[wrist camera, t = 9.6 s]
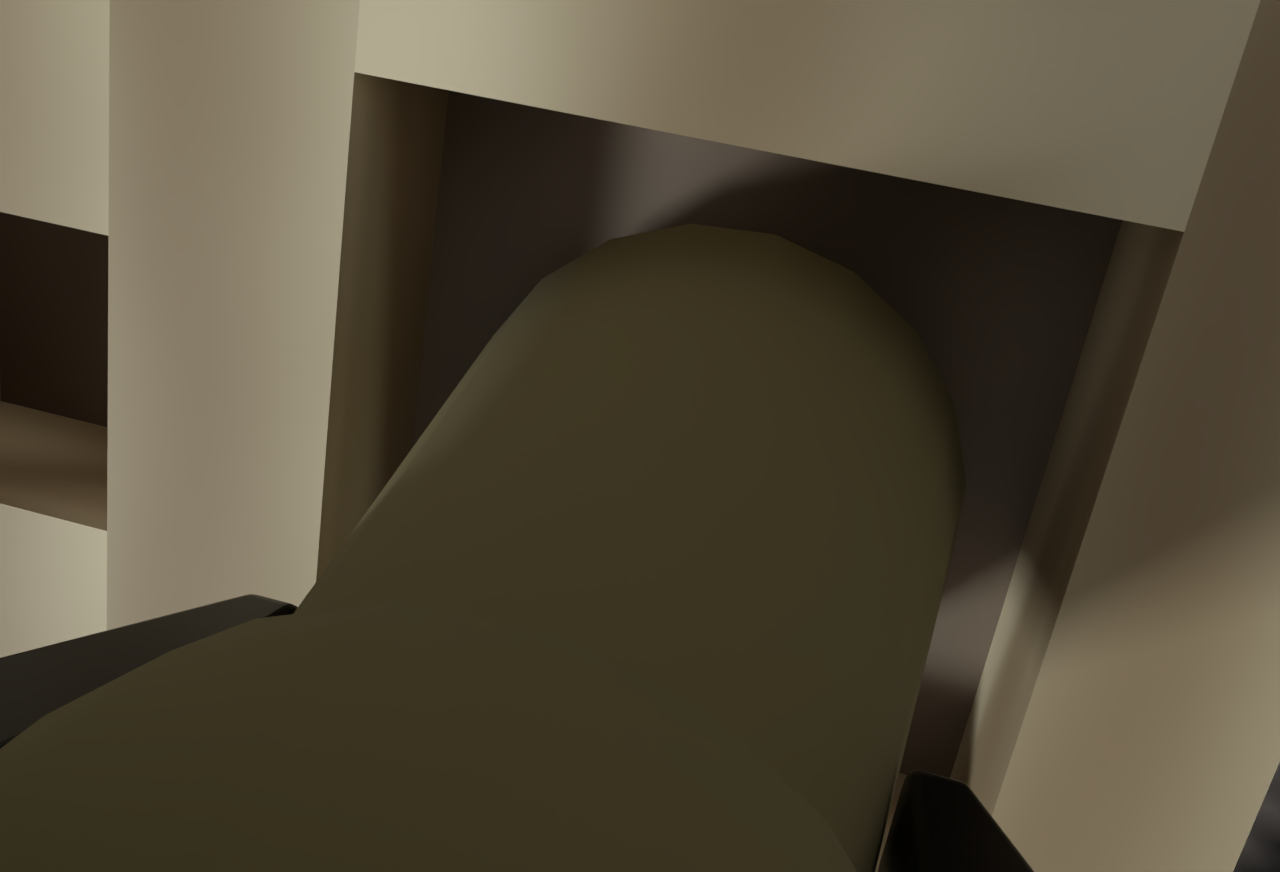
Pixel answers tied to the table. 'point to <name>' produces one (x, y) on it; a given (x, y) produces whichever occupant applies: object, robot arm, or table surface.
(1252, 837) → the table surface
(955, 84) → the block
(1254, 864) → the table surface
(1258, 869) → the table surface
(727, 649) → the olive knobbed peg
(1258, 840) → the table surface
